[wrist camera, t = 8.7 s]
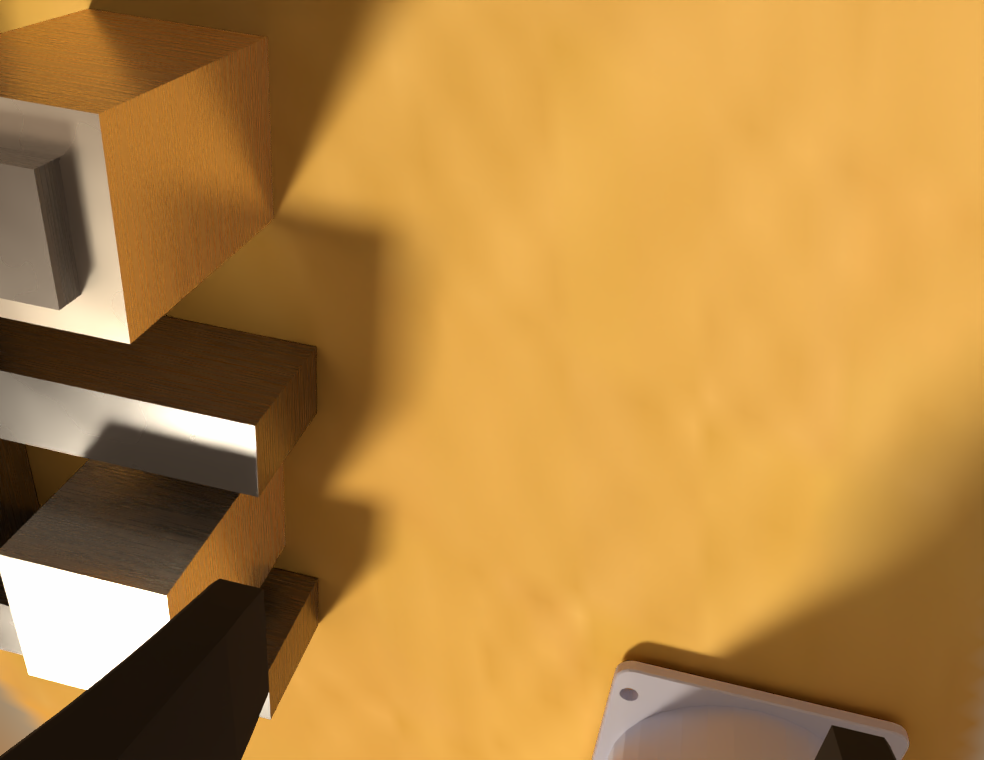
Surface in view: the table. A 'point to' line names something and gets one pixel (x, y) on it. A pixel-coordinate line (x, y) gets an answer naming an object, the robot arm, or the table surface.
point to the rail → (162, 432)
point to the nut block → (126, 166)
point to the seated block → (128, 562)
